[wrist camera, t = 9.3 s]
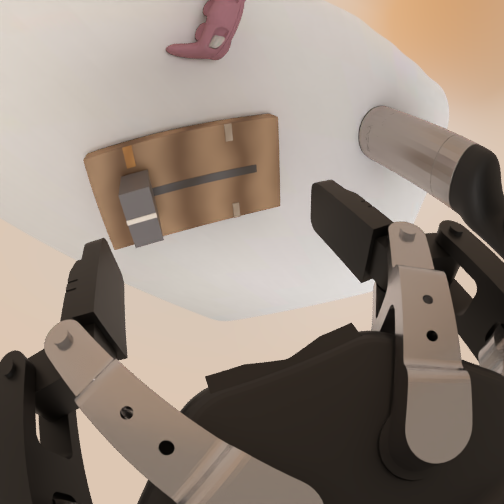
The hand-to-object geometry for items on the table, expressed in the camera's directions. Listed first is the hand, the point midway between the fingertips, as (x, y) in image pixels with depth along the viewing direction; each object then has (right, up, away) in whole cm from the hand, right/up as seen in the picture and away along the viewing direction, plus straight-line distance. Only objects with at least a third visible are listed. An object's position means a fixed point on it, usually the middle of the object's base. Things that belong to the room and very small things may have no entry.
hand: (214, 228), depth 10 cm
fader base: (-6, +8, +23) cm, 25 cm away
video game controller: (-4, +24, +12) cm, 27 cm away
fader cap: (-11, +5, +19) cm, 23 cm away
